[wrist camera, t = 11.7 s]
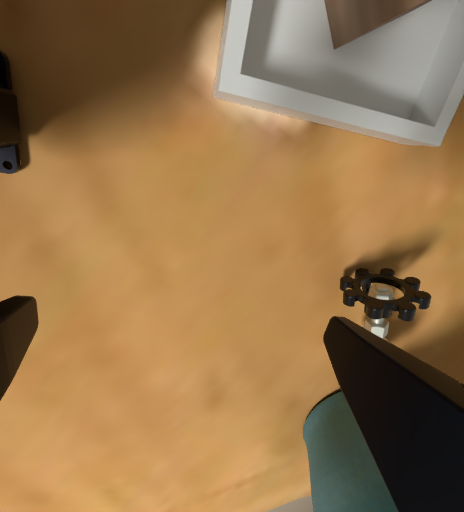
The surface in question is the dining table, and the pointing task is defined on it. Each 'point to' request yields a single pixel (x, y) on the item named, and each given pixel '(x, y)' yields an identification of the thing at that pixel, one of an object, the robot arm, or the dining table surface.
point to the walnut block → (363, 16)
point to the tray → (346, 68)
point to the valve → (383, 297)
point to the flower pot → (342, 462)
